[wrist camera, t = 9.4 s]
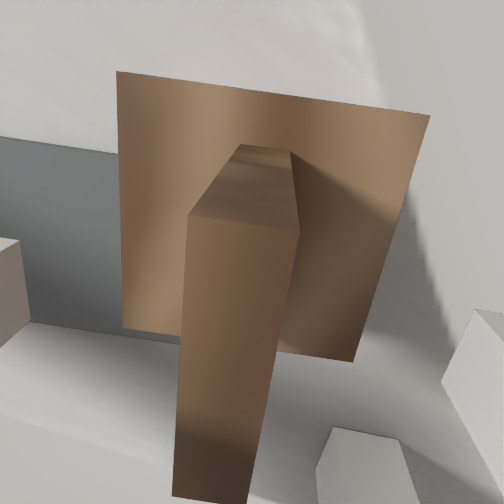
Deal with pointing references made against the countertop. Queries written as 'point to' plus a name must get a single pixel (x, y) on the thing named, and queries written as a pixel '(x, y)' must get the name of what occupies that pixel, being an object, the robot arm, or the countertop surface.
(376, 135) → the board
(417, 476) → the countertop surface
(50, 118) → the countertop surface
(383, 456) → the milk
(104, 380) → the countertop surface
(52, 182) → the mat
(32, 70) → the countertop surface
